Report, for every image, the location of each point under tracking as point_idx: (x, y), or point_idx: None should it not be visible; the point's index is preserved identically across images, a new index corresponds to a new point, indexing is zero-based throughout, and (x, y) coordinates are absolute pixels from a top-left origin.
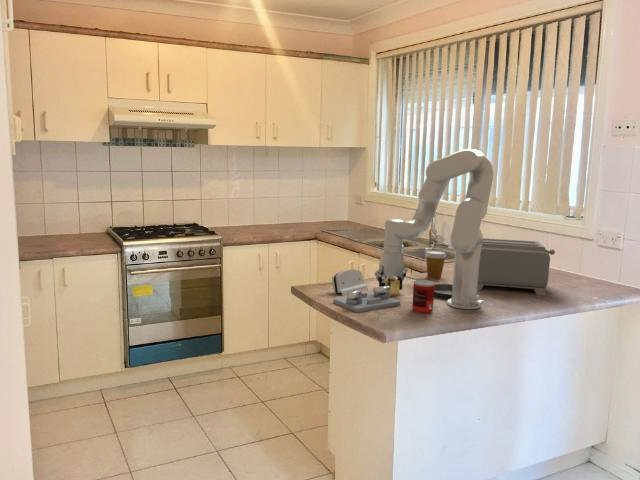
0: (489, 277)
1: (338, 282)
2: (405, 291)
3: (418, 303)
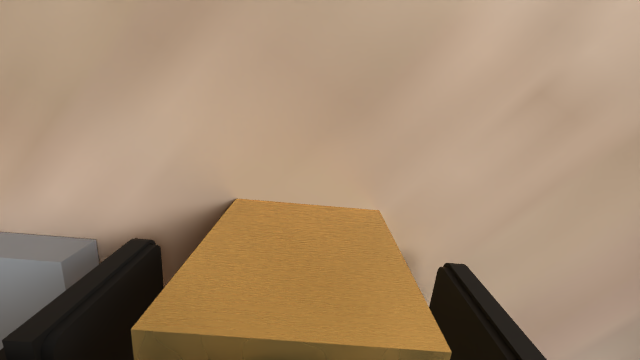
0: None
1: None
2: (530, 277)
3: None
